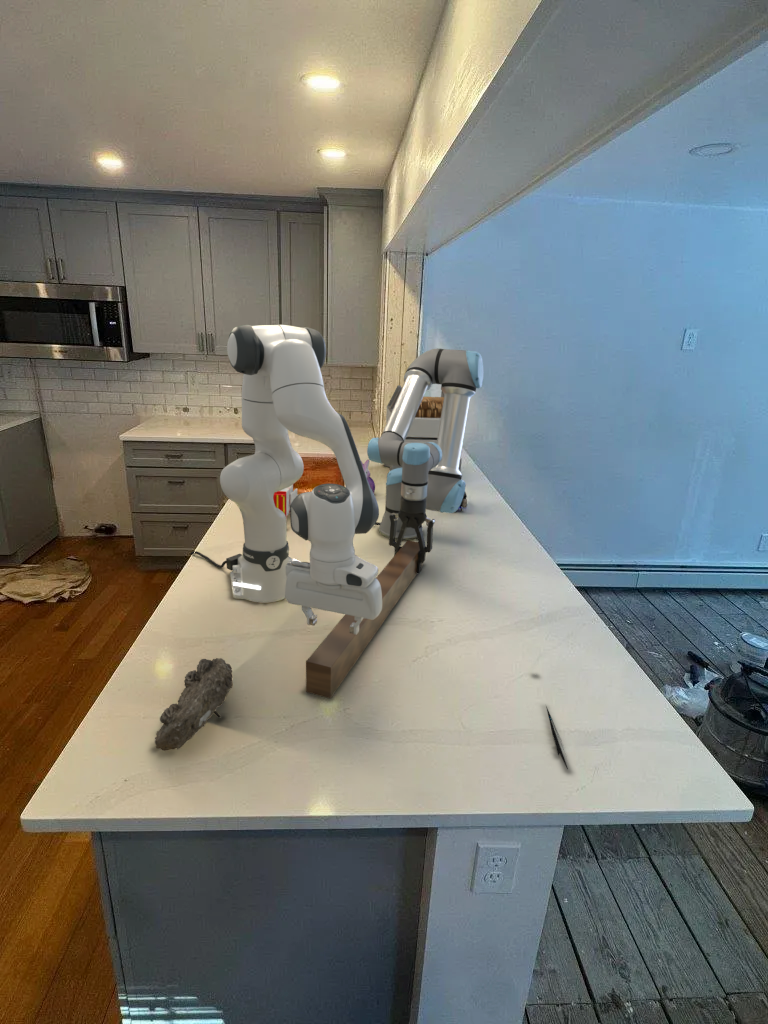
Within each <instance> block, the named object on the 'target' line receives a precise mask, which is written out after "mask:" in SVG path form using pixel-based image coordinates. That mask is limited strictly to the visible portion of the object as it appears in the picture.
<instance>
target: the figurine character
mask: <svg viewBox="0 0 768 1024" xmlns="http://www.w3.org/2000/svg"><path fill="white" fill-rule="evenodd" d="M467 495H468V494H467V493H466V491H465V492H464V496H463V499H462V502H461V504H460V506H459V508H458V509H457V510H460V512H463V509H464V508H465V509H466V508H467V506H468V499H467V497H468V496H467Z"/></svg>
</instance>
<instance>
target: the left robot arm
mask: <svg viewBox="0 0 768 1024" xmlns="http://www.w3.org/2000/svg"><path fill="white" fill-rule="evenodd" d="M226 344H227V345H226V354H227V357H228V360H229V364H230V366H231V368H232V369H233V370H235V371H236V372H237V373H239V374H242V382H241V428H242V430H243V432H244V433H245V434H246V435H247V436H249V437H250V438H251V439H252V440H253V443H254V448H255V450H254V454H253V453H252V454H250V455H246V456H243V457H239V458H237V459H235V460H234V461H232V462H230V463H229V464H227V465H225V467H223V469H222V470H221V472H220V474H219V475H220V476H219V485H220V488H221V490H222V493H223V494H224V496H225V497H226V498H227V499H228V500H230V501H231V502H234V503H235V504H236V506H237V508H238V509H239V511H240V514H241V517H242V522H243V524H242V525H243V536H244V538H243V539H244V542H243V546H242V553H238V554H235V555H232V556H229V557H226V559H225V560H224V561H222V563H221V565H220V564H218V563H216V561H214V560H212V559H211V558H210V557H208V556H207V555H205V554H203V553H201V552H200V551H197V550H193V551H191V552H190V553H189V555H191V556H192V555H194V554H196V555H198V556H200V557H201V558H203V559H205V560H206V561H208V562H209V563H210V564H212V565H213V566H215V567H216V568H218V569H219V568H220V569H222V568H224V567H225V565H226V569H228V570H229V571H230V573H229V577H230V585H231V594H232V598H234V599H237V600H238V599H239V600H245V601H250V602H253V603H261V604H264V603H265V604H266V603H275V602H279V601H283V600H286V602H287V603H288V604H291V605H295V606H299V607H301V612H302V613H303V614H304V616H305V618H306V624H307V625H308V626H312V627H314V626H316V624H317V623H318V614H315V613H313V610H312V609H316V610H321V611H325V612H331V613H335V614H340V615H341V614H342V615H345V614H346V615H351V616H355V620H356V621H357V622H356V623H354V622H353V623H352V625H350V626H349V629H350V631H349V633H351V634H356V635H357V633H358V632H359V624H360V623H361V621H362V620H363V618H366V619H371V620H373V619H375V618H376V617H377V616H378V615H379V614H380V612H381V610H382V591H381V585H380V583H379V581H378V580H377V579H376V577H377V576H378V575H379V567H378V566H377V565H375V564H374V563H371V562H369V561H367V560H366V559H364V558H362V557H359V556H358V555H356V551H355V546H354V538H355V535H361V534H364V535H365V534H367V533H369V532H370V531H371V530H372V528H373V527H374V526H376V525H375V523H376V522H377V521H378V520H379V517H380V509H379V503H378V500H377V498H376V494H375V493H373V491H372V489H371V487H370V485H369V483H368V480H367V477H366V475H365V472H364V469H363V466H362V463H363V462H362V463H361V461H362V460H361V458H360V455H359V451H358V447H357V446H356V443H355V439H354V436H353V434H352V432H351V429H350V426H349V425H348V421H347V420H346V418H345V417H344V415H342V414H341V413H339V412H338V411H336V410H335V408H334V407H333V406H332V404H331V403H330V401H329V399H328V397H327V395H326V394H327V393H326V390H325V384H324V379H323V375H322V370H321V369H322V367H324V364H325V362H326V355H327V346H326V341H325V338H324V337H323V335H322V333H321V332H320V331H319V330H317V329H314V328H311V327H308V326H303V327H300V326H295V325H290V324H289V325H288V324H260V325H251V324H243V325H242V324H241V325H238V326H234V327H233V329H232V330H231V331H230V332H229V334H228V339H227V343H226ZM289 432H291V433H293V434H295V435H297V436H300V437H303V438H307V439H311V440H313V441H316V442H318V443H321V444H323V445H324V446H326V447H328V448H329V449H330V450H331V451H332V452H333V454H334V456H335V459H336V462H337V465H338V468H339V471H340V473H341V477H342V480H343V483H344V485H342V484H337V483H323V484H318V485H317V486H315V487H314V488H313V489H312V490H311V491H306V492H305V491H304V492H301V493H297V496H296V497H295V499H294V500H293V501H292V503H291V505H290V513H289V520H290V521H289V523H290V528H291V531H292V532H293V533H294V534H295V535H297V536H298V537H300V538H301V539H303V540H305V541H309V542H310V550H309V561H300V560H297V559H295V558H292V557H291V556H290V546H289V541H288V533H287V531H288V530H287V529H288V528H287V517H286V516H285V514H284V513H283V512H282V511H281V510H280V509H278V508H276V507H275V504H274V500H273V496H274V493H275V492H277V491H280V490H283V489H285V488H288V487H290V486H291V485H294V484H296V482H298V481H299V480H300V479H301V478H302V476H303V474H304V470H305V469H304V468H305V466H304V462H303V459H302V456H301V455H300V453H299V452H298V451H296V450H295V449H294V447H293V445H292V442H291V439H290V435H289ZM195 551H196V552H195ZM194 552H195V553H194Z"/></svg>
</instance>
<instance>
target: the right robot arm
mask: <svg viewBox="0 0 768 1024" xmlns="http://www.w3.org/2000/svg"><path fill="white" fill-rule="evenodd" d="M403 382H404V383H403V385H402V386H401V387H402V390H401V392H400V394H399V396H398V399H397V401H396V403H395V405H394V408H393V410H392V412H391V415H390V417H389V419H388V421H387V423H386V424H385V426H384V428H383V431H382V433H381V435H380V437H372V438H371V439H370V440H369V442H368V444H367V448H366V454H367V458H368V460H369V461H371V462H373V463H378V464H381V465H382V464H383V465H384V464H390V465H398V466H402V468H397V469H393V470H391V471H390V470H389V472H388V473H387V475H386V482H385V504H384V505H385V507H384V508H385V509H384V513H383V515H382V519H381V522H376V523H375V525H374V526H378V533H379V534H380V535H381V536H382V537H385V538H387V539H388V546H389V547H393V548H394V556H395V555H396V553H397V552H398V551H399V550H400V549H401V547H402V542H403V541H407V540H410V541H412V540H415V539H417V542H418V543H419V548H420V551H419V552H418V558H417V575H419V574H420V573H421V572H422V567H423V566H422V563H423V564H424V563H425V561H426V557H427V556H426V555H427V553H428V554H429V553H431V552H432V551H433V544H434V543H433V541H434V526H435V524H436V519H435V518H429V517H428V515H427V513H426V511H433V512H438V513H442V514H443V513H446V514H453V513H456V512H457V511H458V510H459V509H460V508H459V506H460V504H461V502H462V499H463V496H464V492H466V486H467V484H466V481H465V480H463V479H462V477H463V474H462V473H461V472H462V471H461V472H460V471H459V462H460V456H461V457H462V453H461V450H462V451H463V445H464V444H463V442H464V437H465V431H466V425H467V419H468V412H469V406H470V400H471V398H472V397H473V396H475V395H476V391H477V389H480V388H482V386H483V382H484V361H483V356H482V355H481V353H480V352H478V351H473V350H468V349H450V348H449V349H447V348H437V347H436V348H431V349H429V350H426V351H425V352H423V353H421V354H420V355H418V356H417V357H416V358H415V359H414V360H413V361H412V362H411V363H410V365H409V366H408V367H407V368H406V370H405V373H404V375H403ZM433 385H441V386H440V390H441V392H443V393H444V401H443V407H442V413H441V419H440V426H439V432H438V438H437V444H436V443H433V442H427V443H424V444H423V443H411V442H404V441H405V439H406V437H407V434H408V432H409V429H410V427H411V425H412V422H413V420H414V418H415V415H416V413H417V410H418V408H419V406H420V403H421V401H422V399H423V397H425V394H426V392H427V391H429V390H430V389H431V387H432V386H433ZM458 508H459V509H458ZM424 523H426V525H425V526H427V527H426V540H425V536H424V527H423V524H424ZM394 556H393V557H394Z"/></svg>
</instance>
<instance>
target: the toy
mask: <svg viewBox="0 0 768 1024" xmlns="http://www.w3.org/2000/svg"><path fill="white" fill-rule="evenodd" d="M297 495H298V488H295V489H294V484H292V485H291V486H290V487H288V488H285V489H283V490H280V491H277V492H275V493H274V496H273V500H274V504H275V507H276V508H278V509H280V510H281V511H282V512H283V513H284V514H285V516H286V518H287V517H288V516H289V515H290V505H291V503H292V501H293V500H294V499H295V497H296V496H297Z"/></svg>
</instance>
